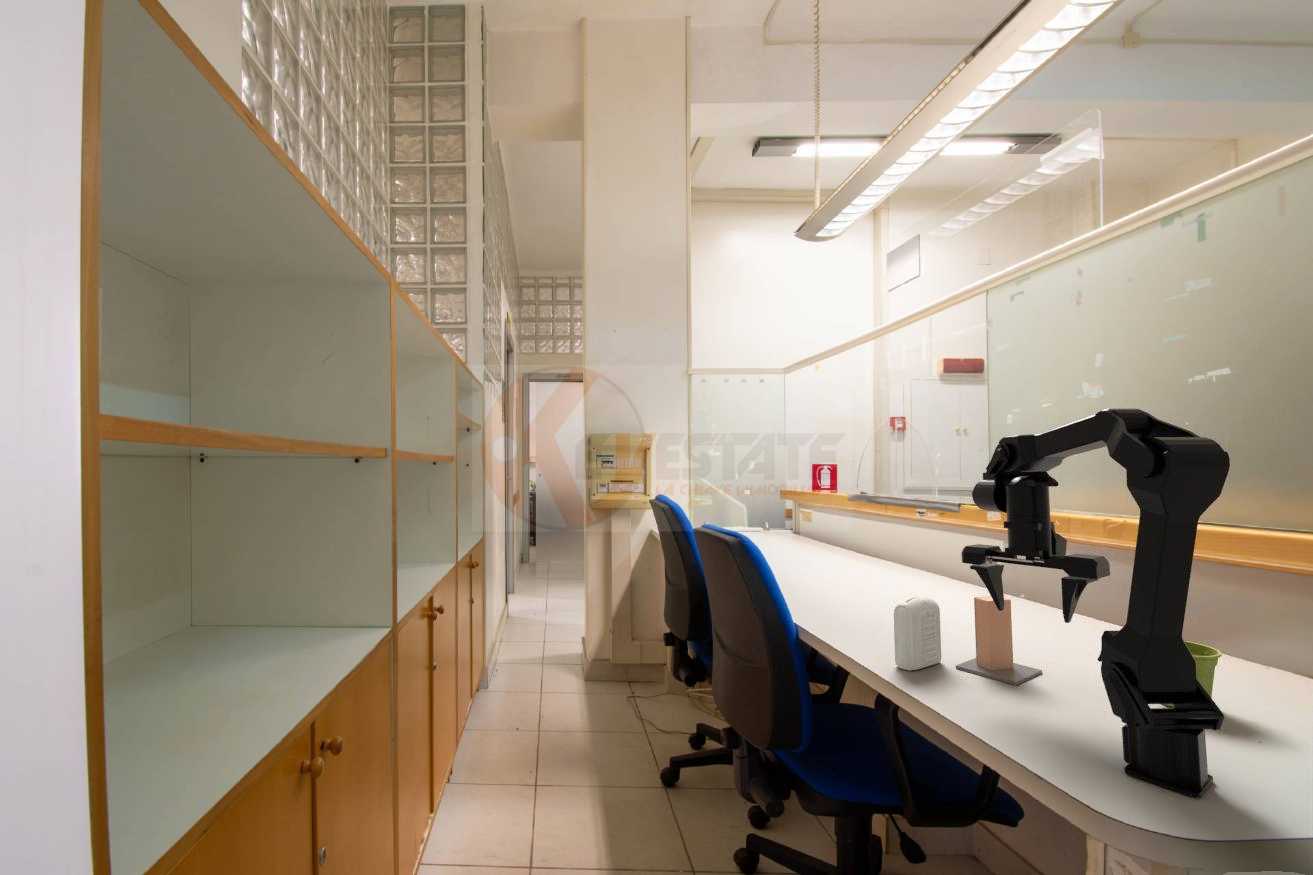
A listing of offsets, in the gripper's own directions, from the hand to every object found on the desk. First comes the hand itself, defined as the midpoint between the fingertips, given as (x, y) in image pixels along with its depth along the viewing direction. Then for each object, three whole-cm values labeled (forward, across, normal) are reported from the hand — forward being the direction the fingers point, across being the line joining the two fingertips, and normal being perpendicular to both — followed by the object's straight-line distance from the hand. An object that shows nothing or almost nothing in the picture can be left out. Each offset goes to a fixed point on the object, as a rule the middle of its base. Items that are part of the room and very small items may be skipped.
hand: (1032, 616), depth 87 cm
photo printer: (+13, +20, -2) cm, 24 cm away
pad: (+13, +10, -10) cm, 19 cm away
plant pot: (+13, -13, -17) cm, 25 cm away
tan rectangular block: (+12, +11, -10) cm, 19 cm away
